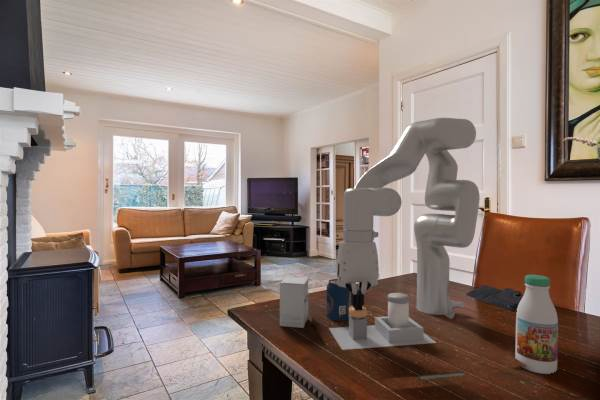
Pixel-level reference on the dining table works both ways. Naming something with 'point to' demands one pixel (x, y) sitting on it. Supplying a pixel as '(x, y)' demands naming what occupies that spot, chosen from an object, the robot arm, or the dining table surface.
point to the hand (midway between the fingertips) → (357, 308)
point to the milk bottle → (537, 327)
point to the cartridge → (398, 310)
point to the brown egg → (357, 312)
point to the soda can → (337, 301)
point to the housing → (378, 334)
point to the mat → (441, 375)
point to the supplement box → (294, 302)
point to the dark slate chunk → (498, 297)
